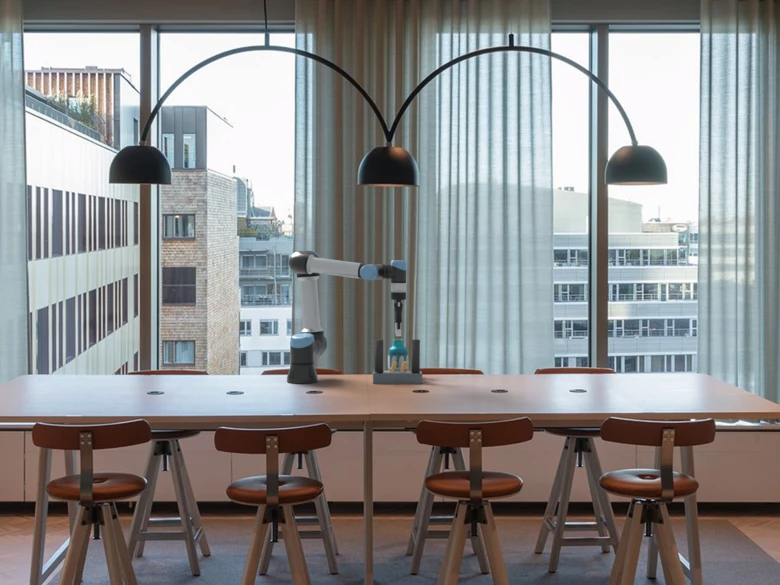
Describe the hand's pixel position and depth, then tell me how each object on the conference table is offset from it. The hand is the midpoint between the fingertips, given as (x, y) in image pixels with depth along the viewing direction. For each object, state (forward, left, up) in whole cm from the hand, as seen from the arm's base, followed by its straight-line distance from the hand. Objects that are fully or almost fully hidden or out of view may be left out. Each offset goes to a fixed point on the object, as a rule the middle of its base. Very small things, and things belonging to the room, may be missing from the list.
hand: (398, 334), depth 467 cm
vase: (+1, +20, -24) cm, 31 cm away
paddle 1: (-3, 0, -18) cm, 18 cm away
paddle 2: (+2, 0, -18) cm, 18 cm away
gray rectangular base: (0, 0, -23) cm, 23 cm away
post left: (-9, 0, -18) cm, 21 cm away
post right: (+9, 0, -18) cm, 20 cm away
